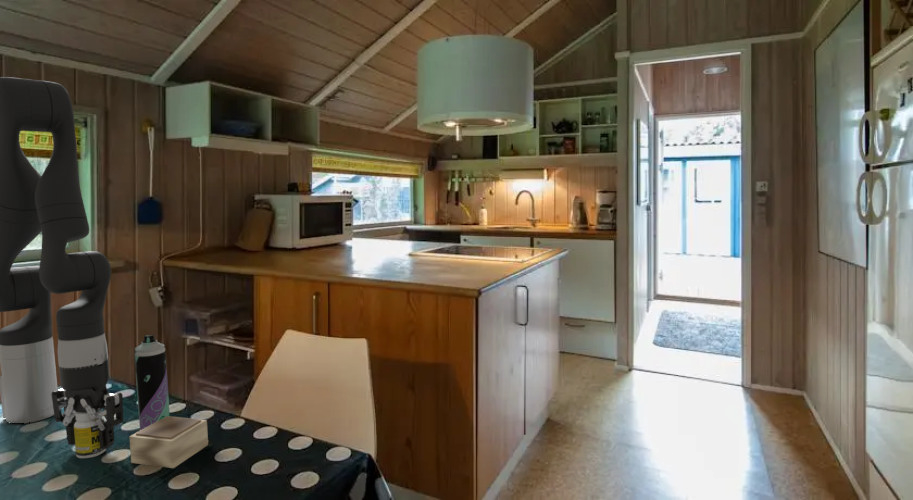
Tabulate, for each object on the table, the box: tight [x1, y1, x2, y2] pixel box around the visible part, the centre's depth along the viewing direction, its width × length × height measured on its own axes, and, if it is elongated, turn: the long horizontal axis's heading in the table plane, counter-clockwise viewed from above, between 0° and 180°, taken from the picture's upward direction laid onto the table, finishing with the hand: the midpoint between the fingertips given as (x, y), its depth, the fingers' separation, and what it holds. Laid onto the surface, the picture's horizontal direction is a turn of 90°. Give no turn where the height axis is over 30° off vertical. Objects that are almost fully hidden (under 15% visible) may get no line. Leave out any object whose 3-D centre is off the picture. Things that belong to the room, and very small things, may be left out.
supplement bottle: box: [74, 409, 107, 459], centre depth 99 cm, size 5×5×8 cm
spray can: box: [133, 334, 171, 431], centre depth 108 cm, size 6×6×20 cm
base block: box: [128, 415, 209, 469], centre depth 99 cm, size 9×9×5 cm
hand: (91, 444), depth 99 cm, fingers open, 7 cm apart
